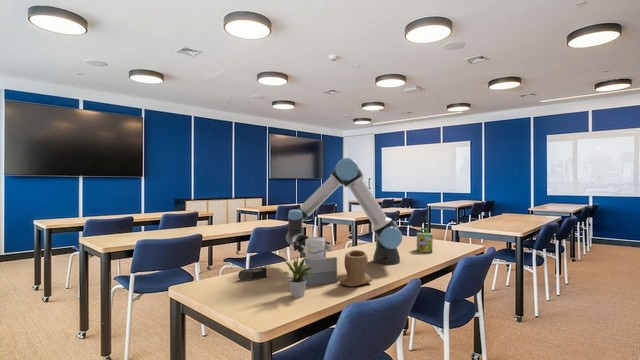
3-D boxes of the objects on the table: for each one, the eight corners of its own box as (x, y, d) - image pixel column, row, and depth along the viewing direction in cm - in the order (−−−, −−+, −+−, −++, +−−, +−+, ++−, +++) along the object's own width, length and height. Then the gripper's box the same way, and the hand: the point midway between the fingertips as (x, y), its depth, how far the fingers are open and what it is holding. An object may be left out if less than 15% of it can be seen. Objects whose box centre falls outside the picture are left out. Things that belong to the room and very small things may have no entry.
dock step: (322, 273, 172) (322, 251, 172) (337, 282, 157) (337, 257, 157) (296, 276, 166) (295, 253, 166) (308, 286, 152) (308, 260, 152)
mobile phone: (265, 266, 168) (235, 270, 160) (267, 267, 166) (237, 271, 158) (264, 276, 168) (235, 281, 160) (267, 278, 166) (237, 282, 158)
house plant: (283, 304, 129) (283, 261, 129) (273, 293, 142) (273, 253, 142) (318, 299, 135) (318, 257, 135) (305, 289, 148) (305, 250, 148)
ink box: (322, 265, 157) (322, 240, 157) (304, 264, 158) (304, 239, 158) (326, 261, 165) (326, 237, 165) (308, 260, 167) (308, 236, 167)
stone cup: (351, 290, 145) (351, 255, 145) (335, 283, 155) (335, 250, 155) (379, 285, 153) (379, 251, 153) (362, 278, 163) (362, 246, 163)
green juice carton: (417, 252, 221) (417, 229, 222) (416, 249, 231) (416, 227, 231) (432, 252, 220) (432, 229, 220) (430, 249, 229) (430, 227, 229)
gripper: (322, 247, 183) (342, 255, 163) (279, 251, 173) (294, 260, 153) (322, 233, 183) (342, 239, 163) (279, 236, 173) (294, 243, 153)
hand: (319, 249), depth 158 cm, fingers closed on ink box, 11 cm apart
